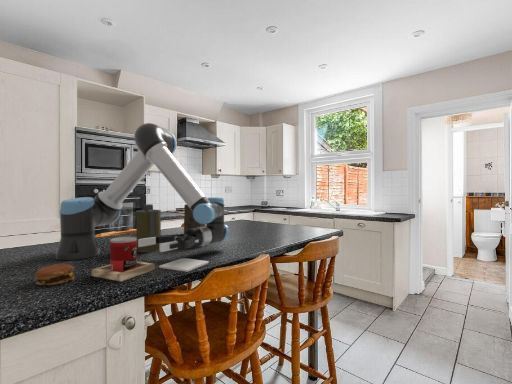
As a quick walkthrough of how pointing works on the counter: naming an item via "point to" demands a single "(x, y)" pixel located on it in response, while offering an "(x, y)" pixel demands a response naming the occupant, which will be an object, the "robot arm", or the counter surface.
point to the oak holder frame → (118, 276)
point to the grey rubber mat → (184, 264)
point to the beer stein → (190, 220)
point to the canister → (148, 226)
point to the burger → (54, 274)
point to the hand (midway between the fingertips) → (148, 245)
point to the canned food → (123, 254)
